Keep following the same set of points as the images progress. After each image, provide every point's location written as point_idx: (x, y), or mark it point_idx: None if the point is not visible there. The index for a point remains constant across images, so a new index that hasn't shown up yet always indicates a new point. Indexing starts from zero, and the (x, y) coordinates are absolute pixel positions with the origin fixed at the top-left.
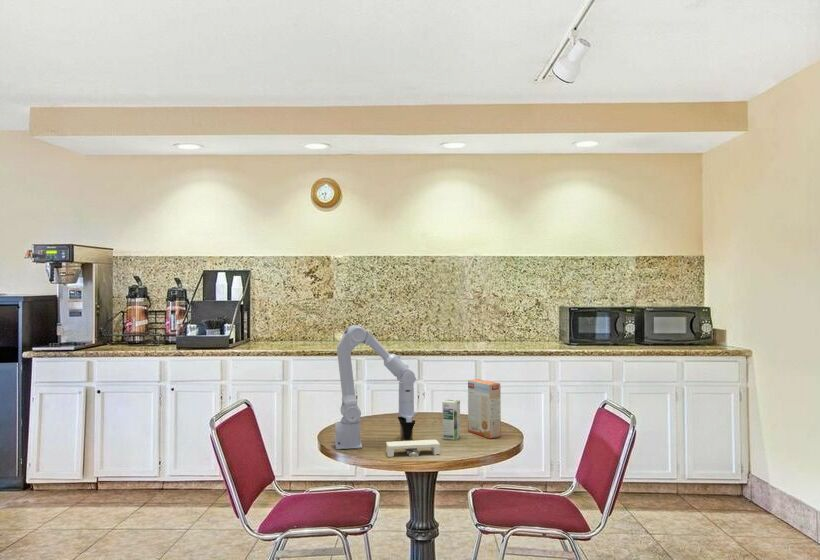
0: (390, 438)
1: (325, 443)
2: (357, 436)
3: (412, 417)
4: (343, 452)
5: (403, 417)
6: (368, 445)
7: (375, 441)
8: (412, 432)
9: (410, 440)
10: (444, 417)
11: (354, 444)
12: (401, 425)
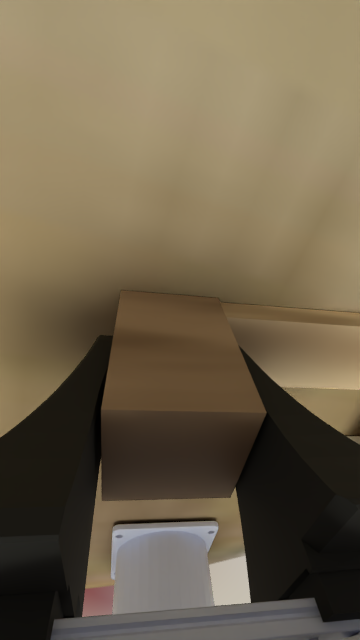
0: (31, 411)
1: (97, 586)
2: (206, 594)
3: (60, 521)
4: (241, 551)
5: (75, 613)
6: (173, 500)
7: (100, 478)
8: (244, 360)
9: (234, 332)
10: None
11: (206, 554)
12: (134, 495)
